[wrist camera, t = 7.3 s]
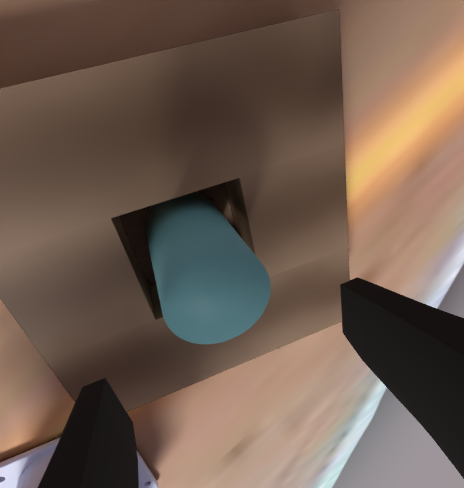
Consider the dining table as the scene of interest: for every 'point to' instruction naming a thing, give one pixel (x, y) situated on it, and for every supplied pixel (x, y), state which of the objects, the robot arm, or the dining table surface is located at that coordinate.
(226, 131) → the socket block
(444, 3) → the dining table surface
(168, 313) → the peg
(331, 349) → the dining table surface
